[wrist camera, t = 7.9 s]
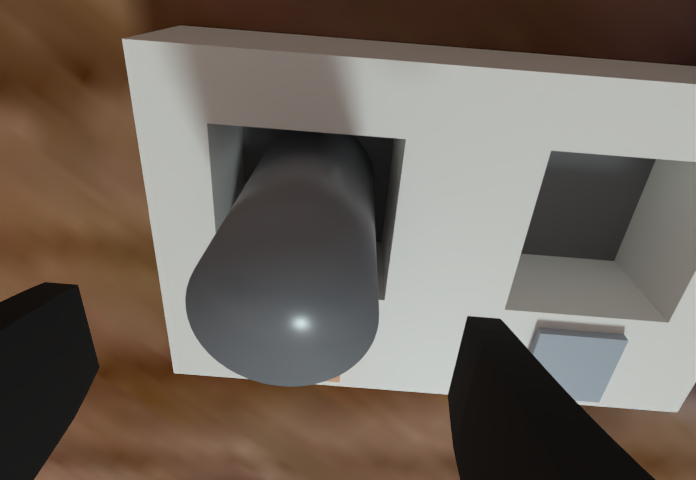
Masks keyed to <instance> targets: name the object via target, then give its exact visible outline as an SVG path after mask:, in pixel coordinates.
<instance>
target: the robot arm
mask: <svg viewBox="0 0 696 480" xmlns="http://www.w3.org/2000/svg"><path fill="white" fill-rule="evenodd" d="M98 369H99V364H98V360H97V356H96V352H95V349H94V345H93V341H92V337H91V333H90V329H89V326H88V322H87V318H86V314H85V310H84V306H83V303H82V299H81V295H80V291H79V287H78V285H72V284H60V283H47V282H45V283H42V284H40V285H37V286H35V287H32V288H30V289H28V290H25V291H23V292H21V293H19V294H17V295H15V296H12V297H10V298H8V299H6V300H4V301H2V302H0V480H34V478H35V477H36V475H37V474H38V473H39V471H40V470H41V468H42V467H43V465H44V464H45V462H46V461H47V459H48V458H49V456H50V455H51V453H52V451H53V450H54V448H55V447H56V445H57V444H58V442H59V441H60V439H61V438H62V436H63V435H64V433H65V432H66V430H67V429H68V427H69V425H70V424H71V422H72V421H73V419H74V418H75V416H76V414H77V412H78V410H79V408H80V406H81V404H82V402H83V400H84V398H85V396H86V394H87V392H88V390H89V388H90V386H91V384H92V382H93V380H94V377H95V375H96V373H97V371H98ZM448 401H449V412H450V422H451V431H452V440H453V448H454V453H455V457H456V462H457V467H458V471H459V476H460V480H655V479H654V478H653V477H652V476H651V475H650V474H649V473H648V472H646V471H645V470H644V469H643V468H642V467H641V466H640V465H639V464H638V463H637V462H636V461H635V460H634V459H633V458H632V457H631V456H630V455H629V454H628V453H627V452H626V451H625V450H624V449H623V448H621V447H620V446H619V445H618V444H617V443H616V442H615V441H614V440H613V439H612V438H611V437H610V436H609V435H608V434H607V433H606V432H605V431H604V430H603V429H602V428H601V427H600V426H599V425H598V424H597V423H596V422H595V421H594V420H593V419H592V418H591V417H590V416H589V415H588V414H587V413H586V412H585V411H584V410H583V409H582V407H581V406H580V405H579V404H578V403H577V402H576V401H575V400H574V399H573V398H572V397H571V396H570V395H569V394H568V393H567V392H566V391H565V389H564V388H563V387H562V386H561V385H560V384H559V383H558V382H557V381H556V380H555V379H554V378H553V376H552V375H551V374H550V373H549V372H548V371H547V370H546V369H545V368H544V366H543V365H542V364H541V363H540V362H539V361H538V360H537V359H536V358H535V356H534V355H533V354H532V353H531V352H530V351H529V350H528V349H527V347H526V346H525V345H524V344H523V343H522V342H521V341H520V340H519V338H518V337H517V336H516V335H515V334H514V333H513V332H512V331H511V330H510V328H509V327H508V326H507V325H506V324H505V323H504V322H503V321H502V320H501V319H499V318H486V317H474V316H467V319H466V324H465V328H464V332H463V336H462V340H461V344H460V348H459V352H458V356H457V360H456V364H455V368H454V372H453V376H452V380H451V384H450V388H449V392H448Z"/></svg>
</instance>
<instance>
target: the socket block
mask: <svg viewBox="0 0 696 480" xmlns="http://www.w3.org/2000/svg"><path fill="white" fill-rule="evenodd" d="M122 42H123V49H124V55H125V61H126V68H127V74H128V81H129V87H130V94H131V100H132V107H133V113H134V119H135V126H136V132H137V139H138V145H139V152H140V158H141V165H142V171H143V177H144V184H145V190H146V197H147V203H148V210H149V216H150V223H151V229H152V235H153V242H154V248H155V255H156V261H157V268H158V274H159V280H160V287H161V293H162V300H163V306H164V313H165V319H166V326H167V332H168V338H169V345H170V351H171V358H172V364H173V371H174V373H178V374H191V375H204V376H217V377H230V378H242V379H248V378H245V377H243V376H241V375H238V374H236V373H235V372H233V371H231V370H229V369H227V368H226V367H225V366H223V365H222V364H220V363H219V362H218V361H216V360H215V359H214V358H213V357H212V356H211V355H210V354H209V353H208V352H207V351H206V350H205V349H204V348H203V347H202V345H201V344H200V342H199V341H198V340H197V338H196V337H195V335H194V333H193V331H192V329H191V326H190V324H189V321H188V318H187V313H186V302H185V297H186V289H187V285H188V282H189V279H190V277H191V275H192V273H193V271H194V269H195V267H196V265H197V264H198V262H199V260H200V259H201V257H202V256H203V254H204V252H205V251H206V249H207V247H208V246H209V244H210V242H211V241H212V239H213V237H214V236H215V234H216V232H217V231H218V229H219V228H220V226H221V224H222V223H223V221H224V219H225V218H226V216H227V214H228V213H229V211H230V209H231V208H232V206H233V204H234V203H235V201H236V200H237V198H238V196H239V195H240V193H241V191H242V190H243V188H244V186H245V185H246V183H247V181H248V180H249V178H250V176H251V175H252V173H253V172H254V170H255V168H256V167H257V165H258V163H259V162H260V160H261V158H262V157H263V155H264V153H265V152H266V150H267V148H268V147H269V145H270V144H271V143H272V141H273V140H274V139H275V138H276V137H277V136H278V135H279V134H280V133H282V132H283V131H285V130H296V131H309V132H322V133H334V134H347V135H353V136H354V137H355V138H356V139H357V140H358V141H359V142H360V143H361V144H362V146H363V147H364V149H365V150H366V152H367V154H368V156H369V159H370V161H371V165H372V171H373V188H374V210H375V232H376V255H377V277H378V299H379V324H378V329H377V333H376V336H375V339H374V341H373V343H372V345H371V347H370V348H369V350H368V352H367V353H366V354H365V355H364V357H363V358H362V359H361V360H360V361H359V362H358V363H357V364H356V365H355V366H353V367H352V368H350V369H349V370H348V371H346V372H345V373H343V374H341V375H339V376H337V377H335V378H332V379H330V380H327V381H324V382H321V383H317V384H319V385H332V386H345V387H358V388H371V389H383V390H396V391H409V392H422V393H435V394H447V395H448V392H449V388H450V384H451V380H452V376H453V372H454V368H455V364H456V360H457V356H458V352H459V348H460V344H461V340H462V336H463V332H464V328H465V324H466V319H467V316H474V317H486V318H499V319H501V320H502V321H503V322H504V323H505V324H506V325H507V326H508V327H509V328H510V330H511V331H512V332H513V333H514V334H515V335H516V336H517V337H518V338H519V340H520V341H521V342H522V343H523V344H524V345H525V346H526V347H527V349H528V350H529V351H530V352H531V353H532V354H533V355H534V356H535V358H536V359H537V360H538V361H539V362H540V363H541V364H542V365H543V366H544V368H545V369H546V370H547V371H548V372H549V373H550V374H551V375H552V376H553V378H554V379H555V380H556V381H557V382H558V383H559V384H560V385H561V386H562V387H563V388H564V389H565V391H566V392H567V393H568V394H569V395H570V396H571V397H572V398H573V399H574V400H575V401H576V402H577V403H578V404H579V405H588V406H601V407H614V408H627V409H640V410H652V411H665V412H678V410H679V409H680V407H681V405H682V404H683V402H684V400H685V399H686V397H687V396H688V394H689V392H690V391H691V389H692V387H693V386H694V384H695V382H696V66H686V65H673V64H661V63H648V62H636V61H623V60H611V59H598V58H585V57H573V56H560V55H548V54H535V53H523V52H510V51H497V50H485V49H472V48H460V47H447V46H435V45H422V44H409V43H397V42H384V41H372V40H359V39H346V38H334V37H321V36H309V35H296V34H284V33H271V32H258V31H246V30H233V29H221V28H208V27H196V26H183V25H180V26H175V27H171V28H167V29H162V30H158V31H153V32H149V33H145V34H140V35H136V36H132V37H127V38H123V39H122Z"/></svg>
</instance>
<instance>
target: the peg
mask: <svg viewBox="0 0 696 480" xmlns="http://www.w3.org/2000/svg"><path fill="white" fill-rule="evenodd" d="M185 302H186V313H187V318H188V321H189V324H190V326H191V329H192V331H193V333H194V335H195V337H196V338H197V340H198V341H199V342H200V344H201V345H202V347H203V348H204V349H205V350H206V351H207V352H208V353H209V354H210V355H211V356H212V357H213V358H214V359H215V360H216V361H218V362H219V363H220V364H222V365H223V366H225V367H226V368H227V369H229V370H231V371H233V372H235V373H236V374H238V375H241V376H243V377H245V378H248V379H251V380H254V381H257V382H260V383H265V384H269V385H277V386H306V385H312V384H317V383H321V382H324V381H327V380H330V379H332V378H335V377H337V376H339V375H341V374H343V373H345V372H346V371H348V370H349V369H350V368H352V367H353V366H355V365H356V364H357V363H358V362H359V361H360V360H361V359H362V358H363V357H364V355H365V354H366V353H367V352H368V350H369V348H370V347H371V345H372V343H373V341H374V339H375V336H376V333H377V329H378V324H379V299H378V277H377V255H376V232H375V210H374V188H373V171H372V165H371V161H370V159H369V156H368V154H367V152H366V150H365V149H364V147H363V146H362V144H361V143H360V142H359V141H358V140H357V139H356V138H355V137H354V136H353V135H347V134H334V133H322V132H309V131H296V130H285V131H283V132H282V133H280V134H279V135H278V136H277V137H276V138H275V139H274V140H273V141H272V143H271V144H270V145H269V147H268V148H267V150H266V152H265V153H264V155H263V157H262V158H261V160H260V162H259V163H258V165H257V167H256V168H255V170H254V172H253V173H252V175H251V176H250V178H249V180H248V181H247V183H246V185H245V186H244V188H243V190H242V191H241V193H240V195H239V196H238V198H237V200H236V201H235V203H234V204H233V206H232V208H231V209H230V211H229V213H228V214H227V216H226V218H225V219H224V221H223V223H222V224H221V226H220V228H219V229H218V231H217V232H216V234H215V236H214V237H213V239H212V241H211V242H210V244H209V246H208V247H207V249H206V251H205V252H204V254H203V256H202V257H201V259H200V260H199V262H198V264H197V265H196V267H195V269H194V271H193V273H192V275H191V277H190V279H189V282H188V285H187V289H186V297H185Z"/></svg>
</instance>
